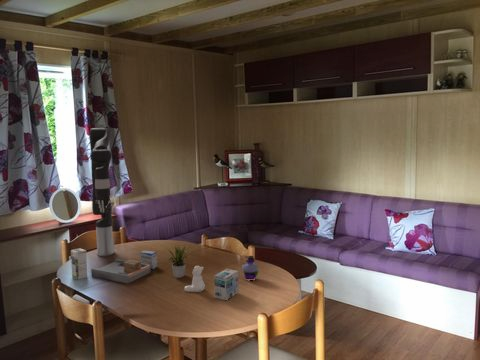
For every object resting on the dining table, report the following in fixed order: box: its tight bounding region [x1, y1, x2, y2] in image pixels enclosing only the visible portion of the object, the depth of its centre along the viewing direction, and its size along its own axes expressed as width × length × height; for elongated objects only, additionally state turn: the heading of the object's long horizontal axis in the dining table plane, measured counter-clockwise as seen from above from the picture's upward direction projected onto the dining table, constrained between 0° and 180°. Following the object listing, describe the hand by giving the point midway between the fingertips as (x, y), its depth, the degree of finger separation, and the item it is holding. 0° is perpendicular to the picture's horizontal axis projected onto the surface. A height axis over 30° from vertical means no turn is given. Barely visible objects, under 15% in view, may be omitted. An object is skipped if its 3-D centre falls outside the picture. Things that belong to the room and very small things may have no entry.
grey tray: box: [90, 258, 152, 284], centre depth 228 cm, size 18×24×4 cm
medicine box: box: [139, 250, 158, 270], centre depth 238 cm, size 8×4×9 cm, turn 68°
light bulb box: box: [214, 268, 240, 301], centre depth 198 cm, size 11×7×11 cm, turn 148°
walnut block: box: [124, 259, 141, 273], centre depth 224 cm, size 5×7×5 cm
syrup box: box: [70, 248, 88, 281], centre depth 222 cm, size 6×6×14 cm
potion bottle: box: [241, 255, 260, 279], centre depth 218 cm, size 9×9×12 cm
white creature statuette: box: [184, 265, 206, 293], centre depth 205 cm, size 10×9×12 cm
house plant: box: [166, 245, 194, 279], centre depth 223 cm, size 14×14×16 cm
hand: (104, 218), depth 235 cm, fingers closed
